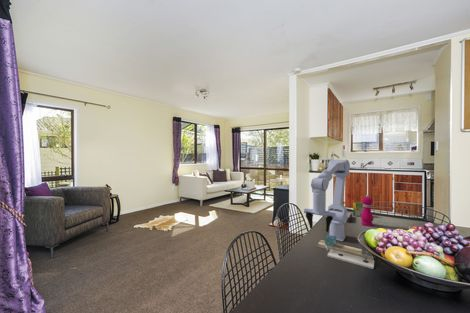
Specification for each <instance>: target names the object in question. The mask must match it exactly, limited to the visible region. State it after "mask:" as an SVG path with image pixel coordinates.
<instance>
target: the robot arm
mask: <svg viewBox="0 0 470 313" xmlns="http://www.w3.org/2000/svg"><path fill="white" fill-rule="evenodd" d="M327 166H328V167H327V168H326V169H323V171H322V172H320V174H319V175H318V176H317V177H314V178H312V180H311V183H310V187H311V191H312V192H311V193H312V197H313V198H312V200H313V201H312V202H313V203H312V204H313V205H312V208H304V209H303V213H304V214H305V217H306V219H307V222H308V225H309V229H310V230H312V229H313V218H314V215H315V216H316V215H317V216H323V217H325V224H326V227H325V231H326V233H328V232H329V233H328V235H332V236H336V241H339V242H344V240H345V239H346V234H345V224H346V223H347V218H348V215H347V213H348V209H347V208H346V207H345V206H344V205H343V202H344V193H345V185H346V177H347V176H349V175H350V169H351V164H350V161H349V160H348V159H330V160H329V161H328V165H327ZM333 175H334V176H335V184H334V192H333V200H332V204H330V205H329V206H327V207H326V204H327V202H326V201H327V200H326V199H327V198H326V196H327V195H326V194H327V190H328V188H329V185H330V182H331V181H332V179H333V178H334V176H333ZM326 208H327V209H326Z"/></svg>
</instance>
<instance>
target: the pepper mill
mask: <svg viewBox="0 0 470 313" xmlns="http://www.w3.org/2000/svg"><path fill="white" fill-rule="evenodd" d="M361 201H362V202H363V206H364V210H363V213H362V214H361V216H360V219H361V226H364V227H373V221H374V215H373V213H372V207H373V205H372V204H373V202H374V201H373V199H372V198H371V197H370V195H369V194H366V195H365V196H364V197H363V198H362V199H361Z"/></svg>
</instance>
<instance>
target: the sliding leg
mask: <svg viewBox="0 0 470 313" xmlns="http://www.w3.org/2000/svg"><path fill="white" fill-rule="evenodd" d="M324 241H325V245H326V249H325V251H326V252H329V249H328V246H333V247H334V245H335V244H336V243H337V240H336V236H332V235H329V234H327V235H326V236H325V238H324Z"/></svg>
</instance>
